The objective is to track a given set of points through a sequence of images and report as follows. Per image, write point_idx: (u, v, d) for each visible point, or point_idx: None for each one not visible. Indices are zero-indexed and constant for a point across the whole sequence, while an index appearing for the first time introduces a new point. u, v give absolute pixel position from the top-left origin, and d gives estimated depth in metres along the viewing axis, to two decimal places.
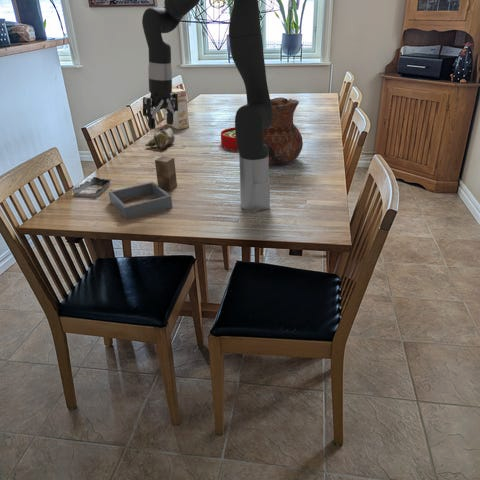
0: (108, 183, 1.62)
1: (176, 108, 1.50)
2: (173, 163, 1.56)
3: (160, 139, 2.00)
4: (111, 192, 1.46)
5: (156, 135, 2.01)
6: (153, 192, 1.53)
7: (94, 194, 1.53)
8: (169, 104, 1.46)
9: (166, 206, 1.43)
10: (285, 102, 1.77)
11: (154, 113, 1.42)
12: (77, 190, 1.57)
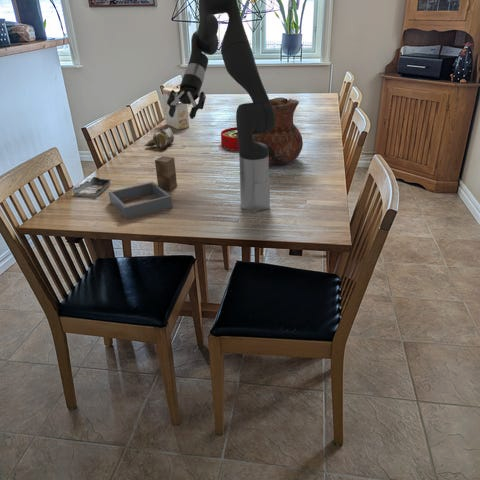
0: (108, 183, 1.62)
1: (199, 103, 1.58)
2: (173, 163, 1.56)
3: (160, 139, 2.00)
4: (111, 192, 1.46)
5: (156, 135, 2.01)
6: (153, 192, 1.53)
7: (94, 194, 1.53)
8: (190, 97, 1.59)
9: (166, 206, 1.43)
10: (285, 102, 1.77)
11: (173, 101, 1.61)
12: (77, 190, 1.57)
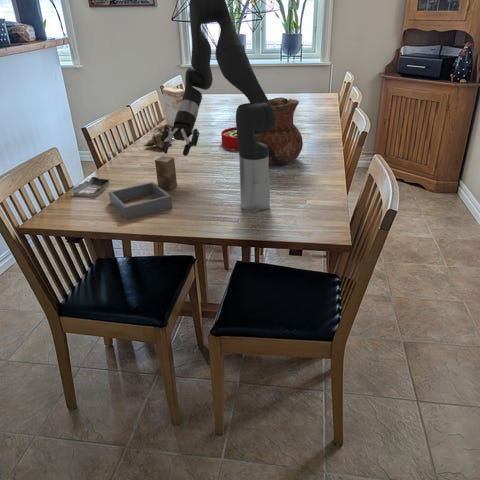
0: (107, 183, 1.62)
1: (192, 140, 1.58)
2: (173, 163, 1.56)
3: (159, 139, 2.00)
4: (111, 192, 1.46)
5: (155, 135, 2.00)
6: (153, 192, 1.53)
7: (93, 194, 1.53)
8: (183, 134, 1.59)
9: (166, 206, 1.43)
10: (285, 102, 1.77)
11: (167, 138, 1.61)
12: (76, 190, 1.57)
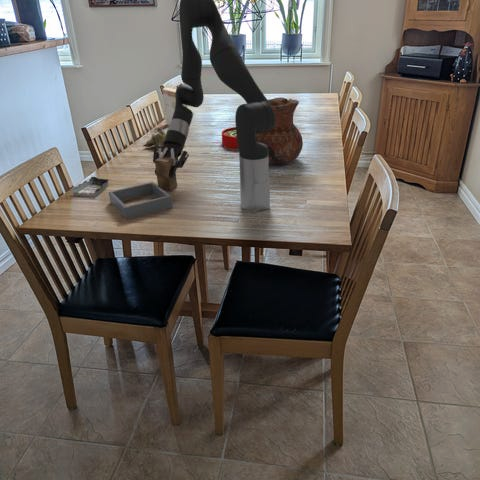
0: (106, 183, 1.62)
1: (178, 162, 1.54)
2: None
3: (158, 139, 2.00)
4: (111, 192, 1.46)
5: (154, 135, 2.00)
6: (153, 192, 1.53)
7: (93, 194, 1.53)
8: (172, 154, 1.55)
9: (166, 206, 1.43)
10: (285, 102, 1.77)
11: None
12: (76, 190, 1.57)
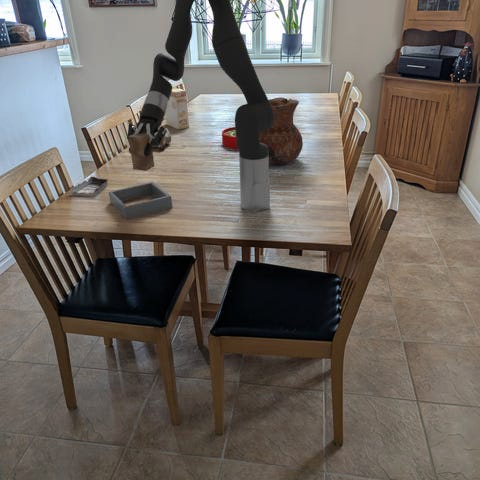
0: (106, 182, 1.62)
1: (154, 139, 1.39)
2: None
3: None
4: (111, 192, 1.46)
5: None
6: (153, 192, 1.53)
7: (92, 193, 1.53)
8: (148, 130, 1.40)
9: (166, 206, 1.43)
10: (285, 102, 1.77)
11: None
12: (75, 190, 1.57)
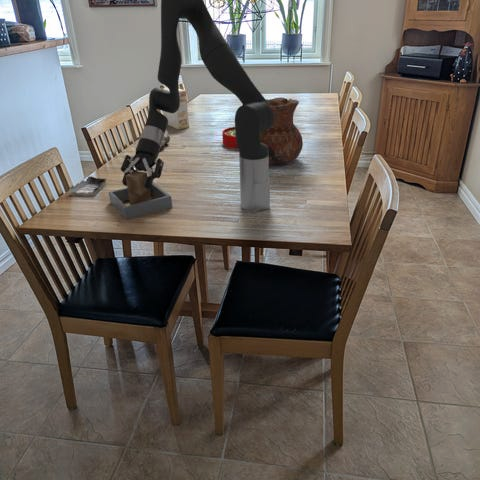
0: (104, 182, 1.63)
1: (155, 172, 1.40)
2: None
3: None
4: (111, 192, 1.46)
5: None
6: (153, 192, 1.53)
7: (91, 193, 1.54)
8: (146, 164, 1.41)
9: (166, 206, 1.43)
10: (285, 102, 1.77)
11: (127, 168, 1.44)
12: (73, 189, 1.57)
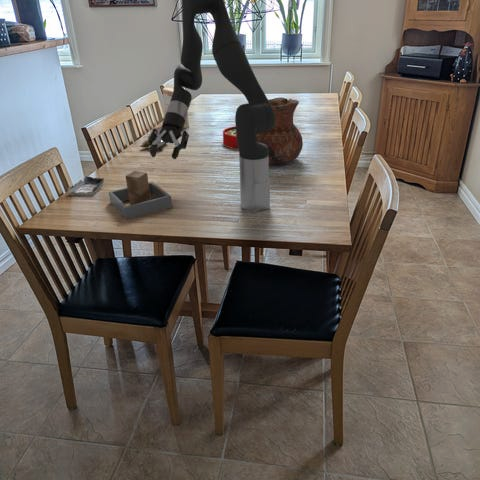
0: (102, 182, 1.63)
1: (181, 143, 1.50)
2: (146, 179, 1.43)
3: None
4: (111, 192, 1.46)
5: None
6: (153, 192, 1.53)
7: (91, 193, 1.54)
8: (172, 136, 1.52)
9: (166, 206, 1.43)
10: (285, 102, 1.77)
11: (155, 140, 1.54)
12: (72, 190, 1.57)
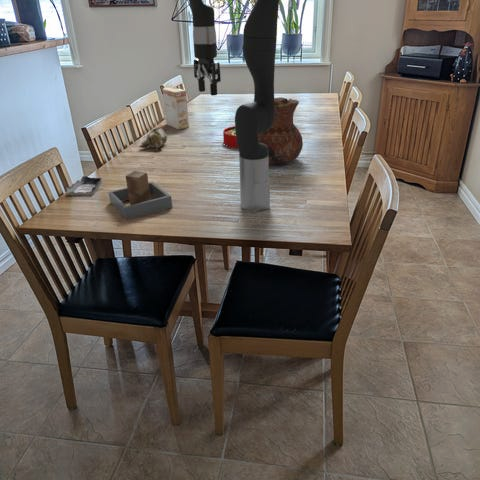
0: (100, 181, 1.64)
1: (213, 79, 1.41)
2: (146, 179, 1.43)
3: (155, 140, 1.99)
4: (111, 192, 1.46)
5: (150, 136, 1.99)
6: (153, 192, 1.53)
7: (90, 192, 1.54)
8: (205, 71, 1.43)
9: (166, 206, 1.43)
10: (285, 102, 1.77)
11: (197, 75, 1.49)
12: (70, 190, 1.57)
